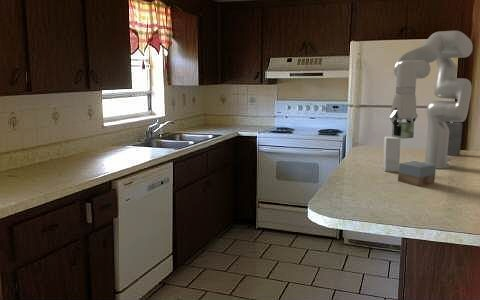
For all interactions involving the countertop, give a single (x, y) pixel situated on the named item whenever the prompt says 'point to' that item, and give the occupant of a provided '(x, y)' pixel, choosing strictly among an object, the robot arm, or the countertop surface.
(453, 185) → the countertop surface
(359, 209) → the countertop surface
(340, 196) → the countertop surface
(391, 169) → the skincare box
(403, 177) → the slab bottom
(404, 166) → the slab top
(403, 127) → the sage block
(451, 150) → the dark grey upright block
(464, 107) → the robot arm
